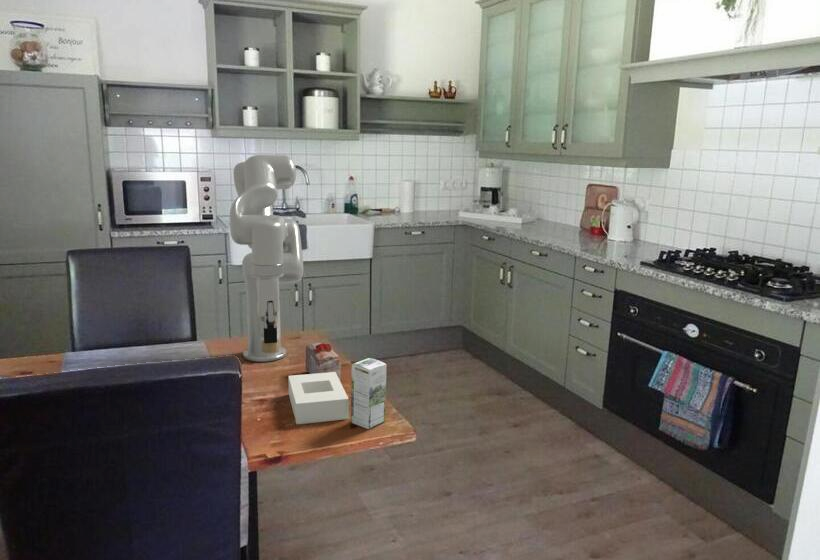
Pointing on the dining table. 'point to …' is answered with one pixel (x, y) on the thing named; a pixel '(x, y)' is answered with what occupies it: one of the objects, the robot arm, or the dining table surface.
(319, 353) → the food item
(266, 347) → the sprinkles bottle
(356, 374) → the syrup box
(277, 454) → the dining table surface
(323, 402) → the socket block
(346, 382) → the dining table surface
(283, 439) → the dining table surface
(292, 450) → the dining table surface
